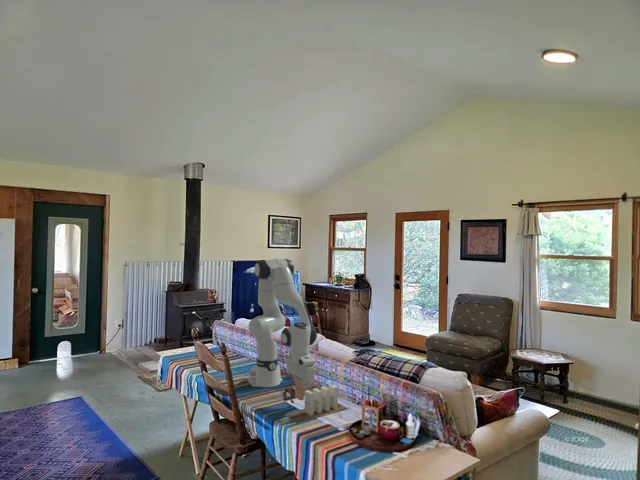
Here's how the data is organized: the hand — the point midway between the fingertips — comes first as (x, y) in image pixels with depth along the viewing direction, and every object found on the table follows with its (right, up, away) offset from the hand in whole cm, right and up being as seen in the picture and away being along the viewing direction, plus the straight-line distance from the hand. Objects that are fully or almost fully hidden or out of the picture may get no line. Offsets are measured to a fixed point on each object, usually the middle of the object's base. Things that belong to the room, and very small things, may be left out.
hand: (299, 385), depth 205 cm
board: (+8, -11, -7) cm, 15 cm away
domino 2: (+5, -10, -9) cm, 14 cm away
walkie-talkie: (-3, -11, +13) cm, 18 cm away
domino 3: (+9, -10, -7) cm, 15 cm away
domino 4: (+12, -10, -4) cm, 16 cm away
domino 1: (0, -6, 0) cm, 6 cm away
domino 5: (+16, -10, -2) cm, 19 cm away
